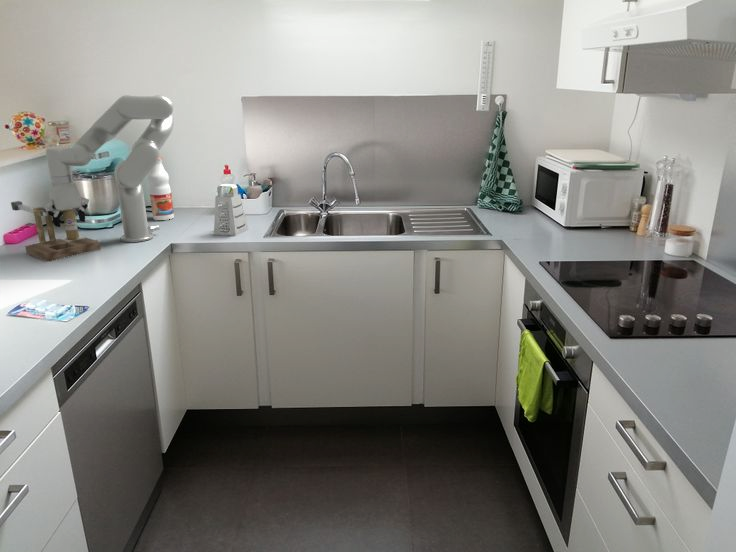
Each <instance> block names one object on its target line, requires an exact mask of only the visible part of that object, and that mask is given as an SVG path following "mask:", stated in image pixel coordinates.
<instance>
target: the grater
mask: <svg viewBox="0 0 736 552" xmlns="http://www.w3.org/2000/svg"><path fill="white" fill-rule="evenodd" d="M223 187H231V189H232V193H231V192H230V193H229V192H224V191H223ZM216 190H217V195H216V196H215V200H214V203H215V205H214V220H213V221H214V225H213V226H214V227H213V234H214V235H221V236H222V235H223V236H232V237H233V236H234V237H235V236H236V237H237V236H238V235H241V234H242V233H244V232H247V231H249V227H248V221H247V217H246V212H245V209H244V203H243V200H242V196H241V195H242V194H241V193H239V189H238V186H237V184H232V183H231V184H230V183H222V184H220V185H218V186H217V189H216ZM223 192H224V193H223Z"/></svg>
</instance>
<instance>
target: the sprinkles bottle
mask: <svg viewBox="0 0 736 552" xmlns="http://www.w3.org/2000/svg"><path fill="white" fill-rule="evenodd" d="M75 211H76V210H75V209H72V208H70V209H68V210H65V211H61V212H62V217H63V218H62V219H63V221H64V222H63V224H64V228H65V229H64V230H65V233H66V237H67V238H68V239H75V238H78V237H79V228H78V221H77V217H76V212H75Z"/></svg>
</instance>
